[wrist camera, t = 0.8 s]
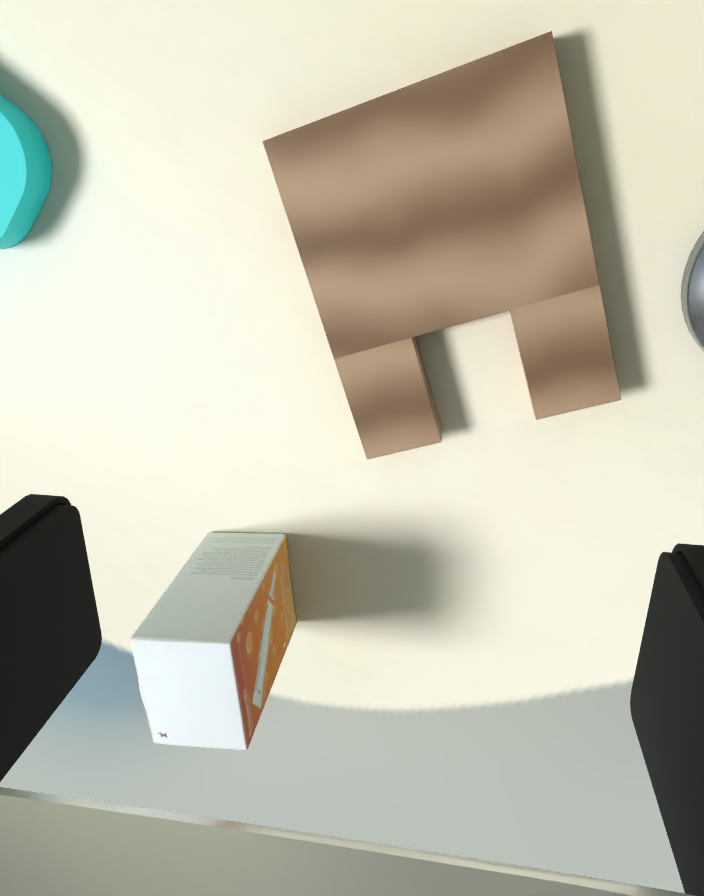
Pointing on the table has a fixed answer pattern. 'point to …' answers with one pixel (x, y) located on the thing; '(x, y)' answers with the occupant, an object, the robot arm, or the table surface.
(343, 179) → the notched board
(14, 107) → the bracket
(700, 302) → the bobbin
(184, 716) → the small box
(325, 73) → the table surface
